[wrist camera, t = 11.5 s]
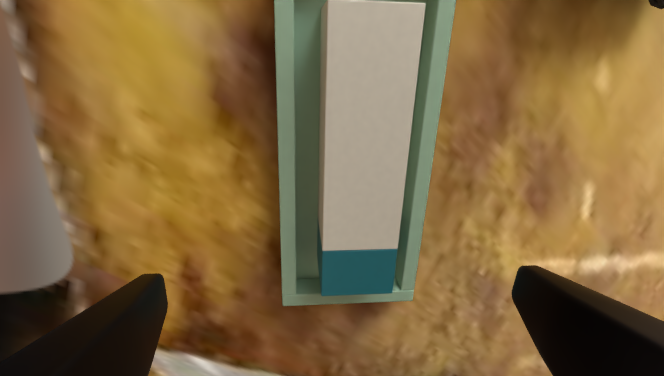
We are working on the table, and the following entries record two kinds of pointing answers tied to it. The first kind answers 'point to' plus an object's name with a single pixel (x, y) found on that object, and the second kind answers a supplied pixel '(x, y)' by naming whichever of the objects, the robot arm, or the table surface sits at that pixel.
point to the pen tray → (303, 147)
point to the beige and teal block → (364, 139)
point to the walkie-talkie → (657, 3)
